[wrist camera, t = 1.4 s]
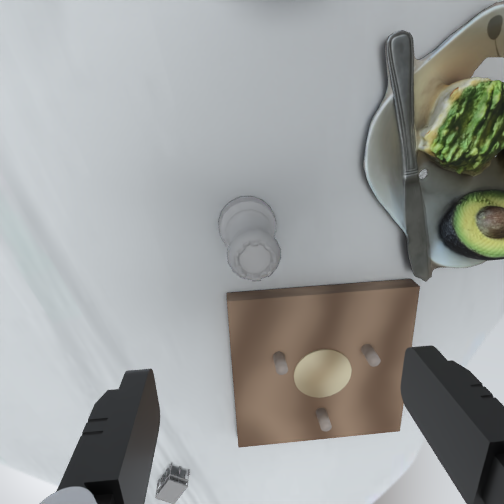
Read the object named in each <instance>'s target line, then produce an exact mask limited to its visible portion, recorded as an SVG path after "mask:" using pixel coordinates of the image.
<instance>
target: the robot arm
mask: <svg viewBox="0 0 504 504" xmlns="http://www.w3.org/2000/svg"><path fill="white" fill-rule="evenodd" d="M400 389H401V396H402V400H403V402H404V405H405V407H406V408H407V410H408V411H409V413H410V415H411V416H412V418H413V419H414V421H415V423H416V424H417V426H418V427H419V429H420V430H421V432H422V434H423V435H424V437H425V438H426V440H427V442H428V443H429V445H430V446H431V448H432V449H433V451H434V453H435V454H436V456H437V457H438V459H439V461H440V462H441V464H442V465H443V467H444V468H445V470H446V472H447V473H448V475H449V476H450V478H451V480H452V481H453V483H454V484H455V486H456V487H457V489H458V491H459V492H460V494H461V495H462V497H463V499H464V500H465V502H466V503H467V504H504V406H503V405H502V404H501V403H500V402H499V401H498V400H497V399H496V398H493V395H492V394H491V393H490V391H489V390H488V389H486V387H483V386H482V383H481V382H480V381H479V380H478V379H477V378H476V377H475V376H474V375H473V374H472V373H471V372H470V371H469V370H467V369H466V368H464V367H462V366H461V365H459V364H457V363H456V362H454V361H447V360H446V358H445V357H444V356H443V355H442V354H441V353H440V352H439V351H438V350H437V349H436V348H435V347H434V346H420V347H409V348H407V349H406V351H405V356H404V363H403V371H402V378H401V386H400ZM159 425H160V408H159V402H158V396H157V390H156V385H155V379H154V374H153V370H152V369H143V370H131V371H126V372H125V374H124V377H123V379H122V382H121V385H120V387H119V389H116V390H108V391H107V392H106V393H105V394H104V395H103V396H102V397H101V398H100V399H99V400H98V401H97V402H96V403H95V405H94V407H93V410H92V412H91V414H90V416H89V419H88V423H86V426H85V428H84V430H83V432H82V436H81V437H80V439H79V442H78V444H77V446H76V448H75V451H74V453H73V455H72V457H71V460H70V462H69V464H68V467H67V469H66V471H65V473H64V476H63V478H62V480H61V483H60V485H59V487H58V489H57V491H56V492H55V493H53V494H51V495H50V496H48V497H47V498H46V499H44V500H43V501H42V502H41V503H40V504H144V502H145V497H146V492H147V487H148V482H149V477H150V472H151V467H152V462H153V457H154V452H155V447H156V442H157V437H158V432H159Z"/></svg>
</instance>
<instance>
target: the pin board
mask: <svg viewBox="0 0 504 504" xmlns="http://www.w3.org/2000/svg"><path fill="white" fill-rule="evenodd" d="M419 290H420V286H419V285H418V284H416V283H415V282H414V281H413V280H412V279H402V280H389V281H376V282H363V283H350V284H337V285H323V286H310V287H297V288H284V289H271V290H258V291H245V292H232V293H227V308H228V321H229V333H230V346H231V358H232V371H233V383H234V396H235V409H236V421H237V434H238V446H239V447H248V446H258V445H268V444H277V443H287V442H297V441H307V440H317V439H327V438H337V437H347V436H357V435H366V434H376V433H386V432H396V431H400V425H401V418H402V411H403V404H404V402H403V400H402V396H401V389H400V386H401V378H402V371H403V363H404V356H405V351H406V349H407V348H409V347H412V340H413V332H414V325H415V318H416V311H417V304H418V297H419Z"/></svg>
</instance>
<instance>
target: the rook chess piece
mask: <svg viewBox="0 0 504 504" xmlns="http://www.w3.org/2000/svg"><path fill="white" fill-rule="evenodd" d="M218 223H219V232H220V236H221V238H222V240H223V242H224V243H225V245H226V246H227V247H229V249H228V252H227V257H228V264H229V265H230V267H231V269H232V271H233V272H234V273H236V274H237V275H238V276H240V277H241V278H244V279H248V280H252V281H261V279H262V278H265V277H267V276H268V277H269V276H270V275H271V274H272V273H273V272H274V270H275V269H276V268H277V267H278V264H279V262H280V259H281V248H280V246H279V244H278V242H277V240H276V239H275V238H274V236H275V233H276V220H275V216H274V214H273V211H272V209H271V207H270V206H269V205H267V204H266V203H265V202H264V201H263V200H261V199H258V198H255V197H252V196H248V197H239V198H237V199H235V200H233V201H231V202H229V203H228V204H227V205H226V207H225V208H224V209H223V210H222V212H221V215H220V218H219V221H218Z"/></svg>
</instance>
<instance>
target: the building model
mask: <svg viewBox="0 0 504 504" xmlns="http://www.w3.org/2000/svg"><path fill="white" fill-rule="evenodd" d="M167 469H168V468H167ZM171 469H172V464H171V466H170V473H171ZM180 471H181V467H180V466H179V475H180ZM176 473H177V472H176ZM189 473H190V472H189V470H188V477H189ZM166 476H167V471H166ZM158 481H159V480H158ZM162 481H163V475H162V478H161V486H160V487H159V489H158V486H159V482H158V484H157V489H158V490H157V491H156V495H157V496H156V497H155V498H157V499H160V500H163V501H166V502H169V503H172V504H175V502H176V501H177V500H178V498H179V497H180V496H181V495H182V493H183V492H184V491H185V490H186V488H187V487H188V480H186V479H185V476H184V478H181V477H178V476H177V475H172V474H169V475H168V477H167V478H165V481H164V482H163V483H162ZM186 483H187V485H186ZM157 493H158V494H157Z"/></svg>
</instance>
